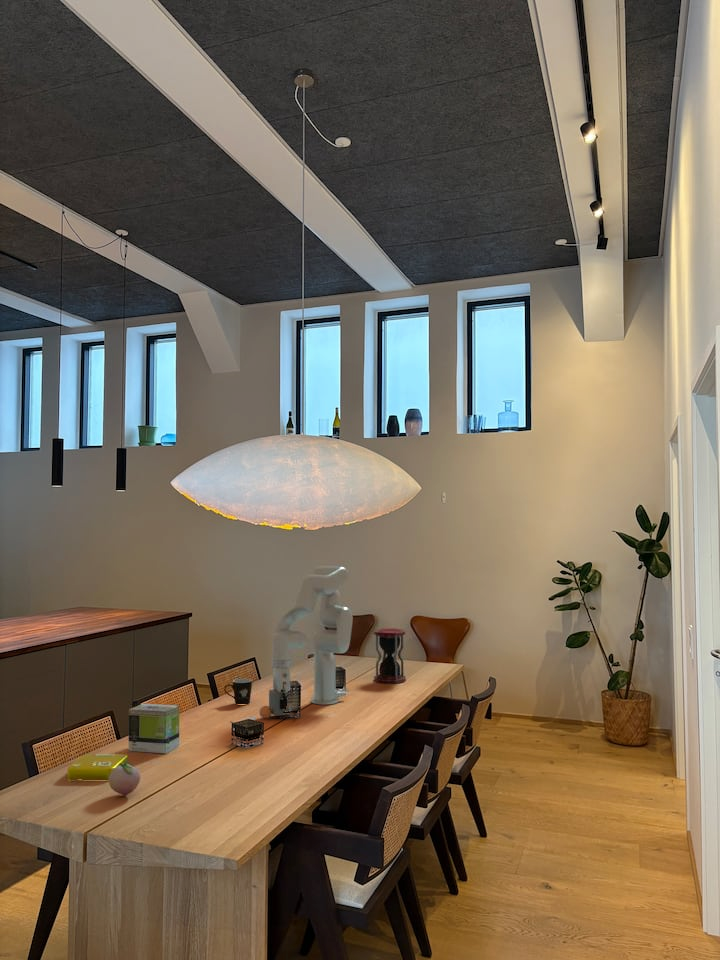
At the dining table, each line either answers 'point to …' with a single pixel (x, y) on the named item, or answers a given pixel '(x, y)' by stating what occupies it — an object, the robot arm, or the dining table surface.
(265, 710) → the ball
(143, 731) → the tea box
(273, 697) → the grey block
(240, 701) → the coffee mug
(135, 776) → the decorative fruit
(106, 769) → the element tile
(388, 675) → the hourglass
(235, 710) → the dining table surface
